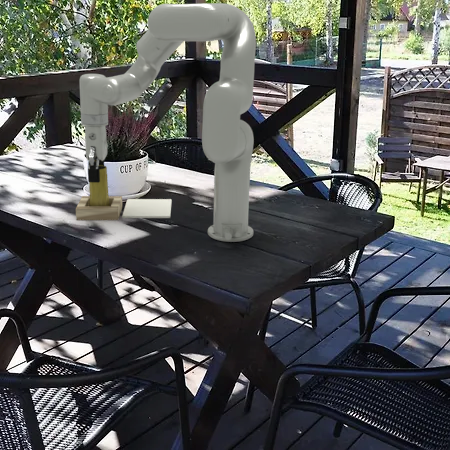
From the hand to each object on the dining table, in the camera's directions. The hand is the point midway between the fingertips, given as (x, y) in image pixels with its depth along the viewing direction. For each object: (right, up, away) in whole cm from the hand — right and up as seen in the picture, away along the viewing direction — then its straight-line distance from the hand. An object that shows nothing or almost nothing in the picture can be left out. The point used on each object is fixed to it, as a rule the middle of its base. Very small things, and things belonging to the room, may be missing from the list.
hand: (96, 177), depth 176 cm
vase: (0, -11, +4) cm, 11 cm away
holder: (0, -11, +4) cm, 11 cm away
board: (+14, -9, +8) cm, 19 cm away
